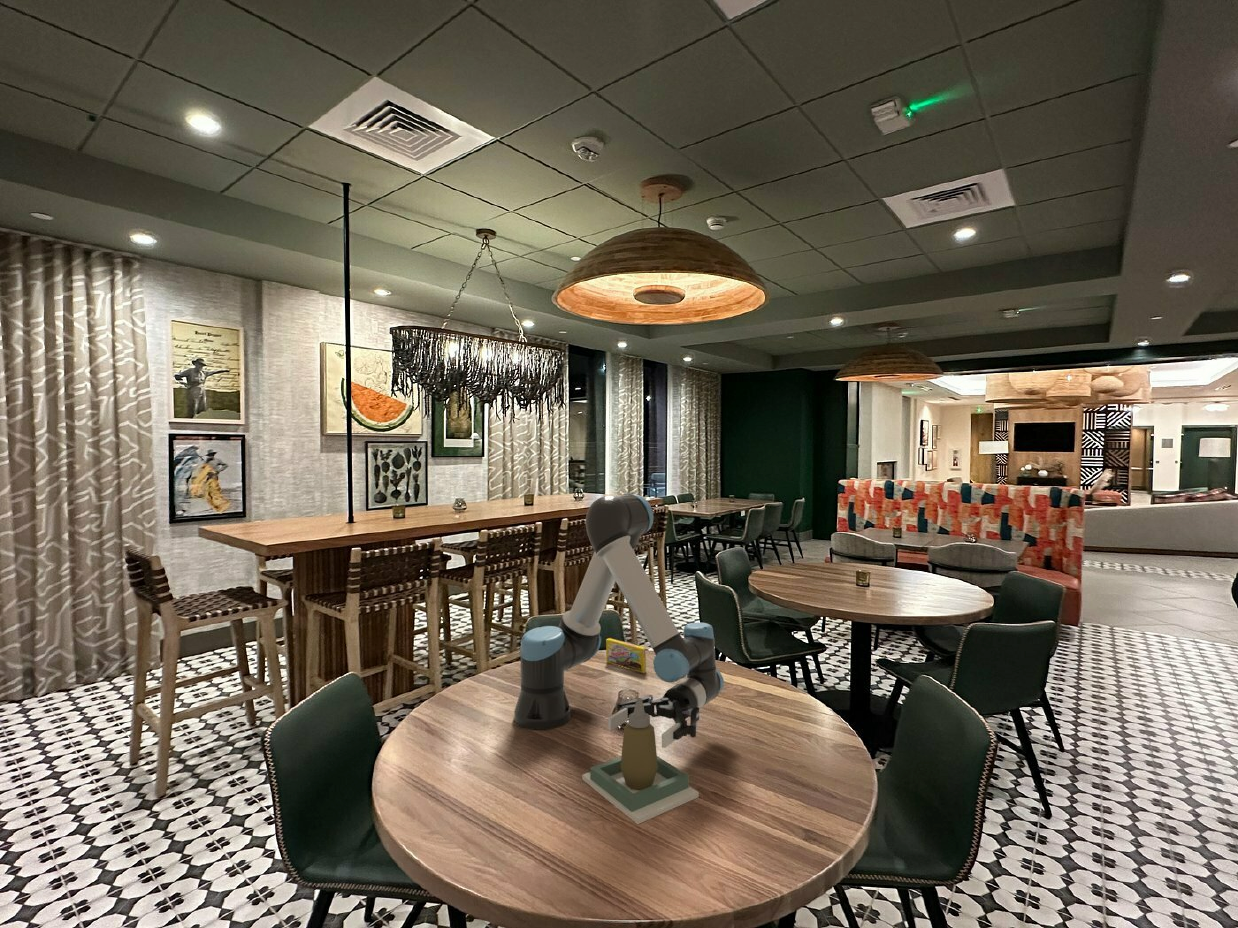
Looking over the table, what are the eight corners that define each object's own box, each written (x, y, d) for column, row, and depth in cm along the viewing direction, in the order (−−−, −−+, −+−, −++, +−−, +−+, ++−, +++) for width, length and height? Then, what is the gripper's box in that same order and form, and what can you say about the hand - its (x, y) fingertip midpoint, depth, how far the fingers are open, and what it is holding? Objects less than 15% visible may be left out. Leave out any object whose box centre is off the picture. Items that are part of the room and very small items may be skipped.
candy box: (605, 662, 208) (605, 638, 208) (609, 661, 209) (609, 637, 209) (642, 673, 197) (642, 648, 197) (646, 671, 199) (646, 646, 199)
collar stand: (582, 779, 132) (582, 763, 132) (639, 758, 141) (639, 743, 141) (637, 824, 116) (637, 806, 116) (698, 796, 125) (698, 780, 125)
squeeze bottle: (655, 795, 124) (655, 708, 124) (616, 791, 125) (616, 705, 125) (660, 775, 132) (660, 693, 132) (624, 771, 133) (624, 690, 133)
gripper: (732, 727, 137) (687, 767, 120) (640, 702, 152) (588, 734, 134) (732, 695, 137) (687, 729, 120) (640, 673, 152) (588, 701, 134)
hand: (635, 732), depth 127 cm, fingers open, 13 cm apart
